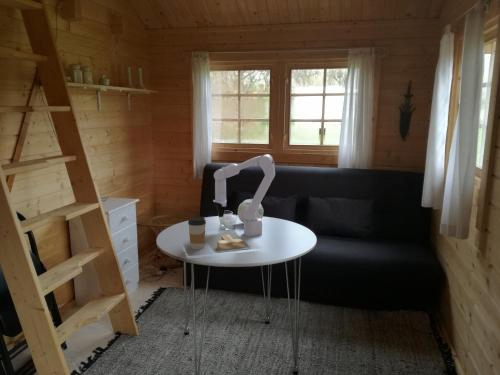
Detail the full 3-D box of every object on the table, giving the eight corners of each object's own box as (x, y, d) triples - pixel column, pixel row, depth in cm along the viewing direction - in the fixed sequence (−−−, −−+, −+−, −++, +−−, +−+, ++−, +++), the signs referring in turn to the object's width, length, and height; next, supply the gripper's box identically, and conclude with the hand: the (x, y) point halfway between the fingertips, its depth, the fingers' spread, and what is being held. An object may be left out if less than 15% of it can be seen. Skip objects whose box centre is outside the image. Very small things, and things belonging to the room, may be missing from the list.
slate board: (234, 233, 215) (234, 231, 215) (250, 249, 191) (250, 247, 191) (202, 237, 210) (201, 235, 209) (214, 253, 185) (214, 251, 185)
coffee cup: (203, 252, 186) (202, 221, 184) (186, 251, 188) (185, 220, 185) (208, 246, 195) (208, 216, 192) (192, 245, 196) (191, 215, 193)
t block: (236, 239, 202) (236, 233, 202) (243, 246, 191) (243, 240, 191) (213, 241, 198) (213, 236, 198) (219, 249, 187) (219, 243, 187)
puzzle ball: (240, 229, 224) (240, 203, 222) (235, 222, 239) (235, 197, 236) (266, 227, 228) (266, 201, 225) (259, 220, 242) (259, 196, 240)
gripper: (210, 189, 217) (210, 214, 219) (216, 195, 203) (217, 220, 206) (222, 189, 219) (222, 213, 221) (230, 194, 205) (230, 219, 208)
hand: (220, 216), depth 214 cm, fingers closed
